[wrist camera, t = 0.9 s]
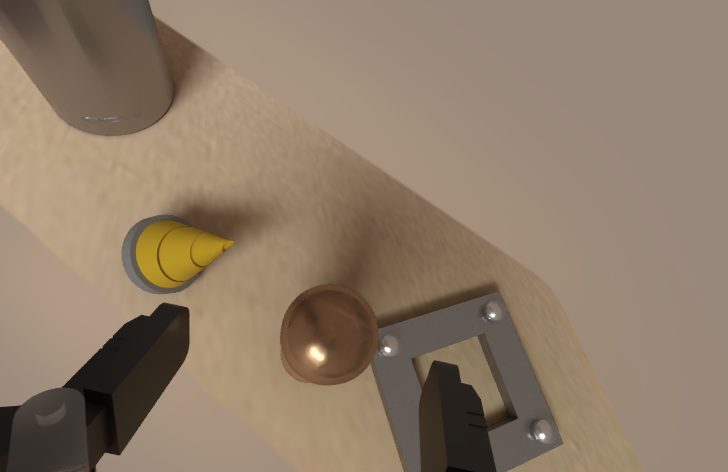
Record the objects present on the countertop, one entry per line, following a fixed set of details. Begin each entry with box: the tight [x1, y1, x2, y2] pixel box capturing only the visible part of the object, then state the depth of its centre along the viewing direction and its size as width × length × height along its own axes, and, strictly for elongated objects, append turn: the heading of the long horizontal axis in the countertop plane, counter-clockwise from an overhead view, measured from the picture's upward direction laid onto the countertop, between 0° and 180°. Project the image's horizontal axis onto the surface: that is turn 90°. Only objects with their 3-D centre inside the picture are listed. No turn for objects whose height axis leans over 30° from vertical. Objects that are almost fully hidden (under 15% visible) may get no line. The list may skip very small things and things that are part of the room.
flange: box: [371, 291, 563, 472], centre depth 30 cm, size 12×12×2 cm
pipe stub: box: [280, 284, 379, 385], centre depth 25 cm, size 5×5×10 cm
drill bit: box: [122, 215, 234, 294], centre depth 27 cm, size 5×5×10 cm
